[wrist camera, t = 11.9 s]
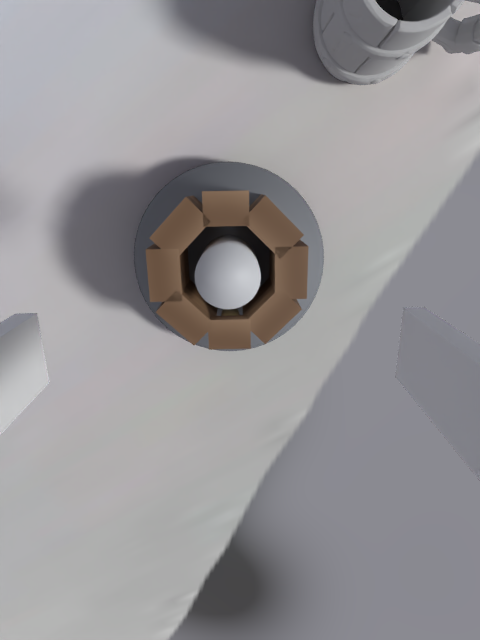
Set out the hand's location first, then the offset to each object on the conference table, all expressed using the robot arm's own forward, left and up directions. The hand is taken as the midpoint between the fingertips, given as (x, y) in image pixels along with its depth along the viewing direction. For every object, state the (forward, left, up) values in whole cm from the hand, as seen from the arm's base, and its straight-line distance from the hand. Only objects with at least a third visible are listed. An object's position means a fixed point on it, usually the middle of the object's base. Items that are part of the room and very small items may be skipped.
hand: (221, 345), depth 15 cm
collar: (0, 0, -19) cm, 18 cm away
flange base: (0, 0, -21) cm, 21 cm away
